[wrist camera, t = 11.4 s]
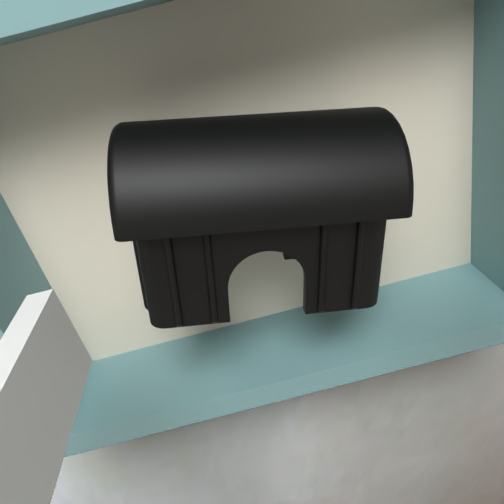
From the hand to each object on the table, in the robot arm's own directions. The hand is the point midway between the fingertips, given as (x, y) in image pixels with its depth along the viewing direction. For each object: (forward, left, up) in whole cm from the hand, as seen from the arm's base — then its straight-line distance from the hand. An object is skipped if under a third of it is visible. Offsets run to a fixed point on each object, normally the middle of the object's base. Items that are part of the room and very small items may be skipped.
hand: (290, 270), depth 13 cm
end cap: (0, 0, -9) cm, 9 cm away
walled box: (0, 0, -10) cm, 10 cm away
